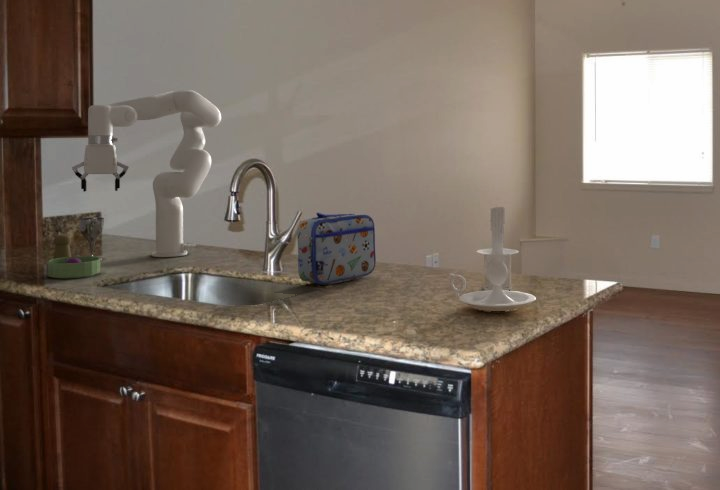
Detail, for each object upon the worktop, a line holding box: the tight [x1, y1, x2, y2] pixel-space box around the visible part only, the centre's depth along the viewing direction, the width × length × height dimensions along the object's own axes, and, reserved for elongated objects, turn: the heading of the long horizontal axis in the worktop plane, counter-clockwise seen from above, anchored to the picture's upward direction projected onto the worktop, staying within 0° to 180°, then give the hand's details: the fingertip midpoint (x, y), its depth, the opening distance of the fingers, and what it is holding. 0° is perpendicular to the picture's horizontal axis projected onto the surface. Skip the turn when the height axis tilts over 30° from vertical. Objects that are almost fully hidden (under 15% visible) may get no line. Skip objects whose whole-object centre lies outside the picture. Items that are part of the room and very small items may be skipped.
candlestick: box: [448, 205, 537, 313], centre depth 212 cm, size 21×25×28 cm
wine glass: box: [78, 216, 105, 261], centre depth 288 cm, size 8×8×15 cm
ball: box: [66, 258, 81, 263], centre depth 257 cm, size 5×5×5 cm
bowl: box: [46, 255, 102, 280], centre depth 257 cm, size 15×15×5 cm
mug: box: [482, 247, 513, 291], centre depth 237 cm, size 12×8×12 cm
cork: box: [53, 234, 72, 259], centre depth 272 cm, size 6×6×11 cm
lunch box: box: [296, 212, 377, 286], centre depth 250 cm, size 28×10×22 cm, turn 144°
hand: (100, 190), depth 272 cm, fingers open, 9 cm apart
